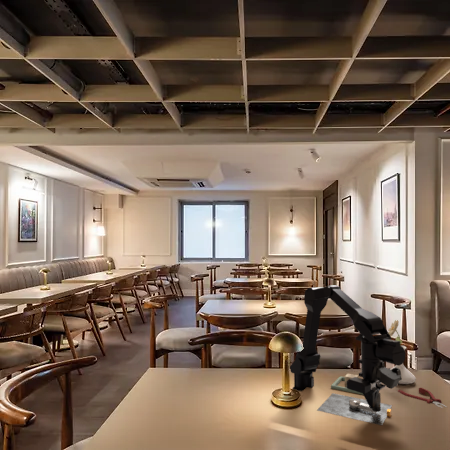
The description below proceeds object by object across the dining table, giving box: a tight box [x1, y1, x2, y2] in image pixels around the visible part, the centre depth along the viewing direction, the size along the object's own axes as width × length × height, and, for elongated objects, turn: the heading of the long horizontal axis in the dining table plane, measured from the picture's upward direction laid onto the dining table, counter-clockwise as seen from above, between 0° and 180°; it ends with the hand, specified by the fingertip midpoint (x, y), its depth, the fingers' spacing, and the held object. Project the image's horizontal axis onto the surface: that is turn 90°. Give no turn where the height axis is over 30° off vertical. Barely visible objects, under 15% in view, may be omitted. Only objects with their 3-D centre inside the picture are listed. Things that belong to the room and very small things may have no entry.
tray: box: [330, 375, 364, 396], centre depth 149 cm, size 12×12×2 cm
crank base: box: [316, 393, 393, 426], centre depth 130 cm, size 21×17×3 cm
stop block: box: [344, 373, 359, 388], centre depth 149 cm, size 4×4×5 cm
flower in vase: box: [387, 319, 417, 385], centre depth 158 cm, size 13×11×25 cm
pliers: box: [397, 387, 448, 409], centre depth 136 cm, size 12×20×3 cm, turn 15°
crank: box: [349, 392, 382, 413], centre depth 128 cm, size 10×4×6 cm, turn 49°
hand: (371, 408), depth 123 cm, fingers closed
